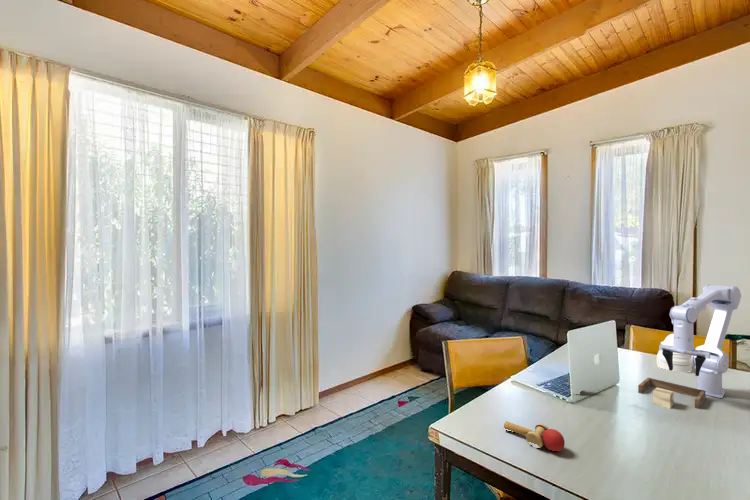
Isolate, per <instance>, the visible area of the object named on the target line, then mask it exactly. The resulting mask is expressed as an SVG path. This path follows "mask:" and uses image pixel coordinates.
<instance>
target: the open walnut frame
mask: <svg viewBox="0 0 750 500" xmlns="http://www.w3.org/2000/svg"><path fill="white" fill-rule="evenodd" d="M637 387H638V391H637V392H638V393H639V394H642V393H644V392H645V391H646V390H647V389H648V388H649V387H653V388H661V389H665V390H669V391H673V393H679V394H680V395H687V396H690V397H694V409H700V407H701V406H702V404H703V403H704V402H705V400H706V399H707V398H706V397H707V395H705V391H704V390H700V389H696V388H695V387H691V386H686V385H682V384H676V383H673V382H670V381H669V382H668V381H665V380H659V379H655V378H651V377H647V378H646V379H644V380H643V381H642V382H641V383H640V384H638V386H637Z"/></svg>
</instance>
